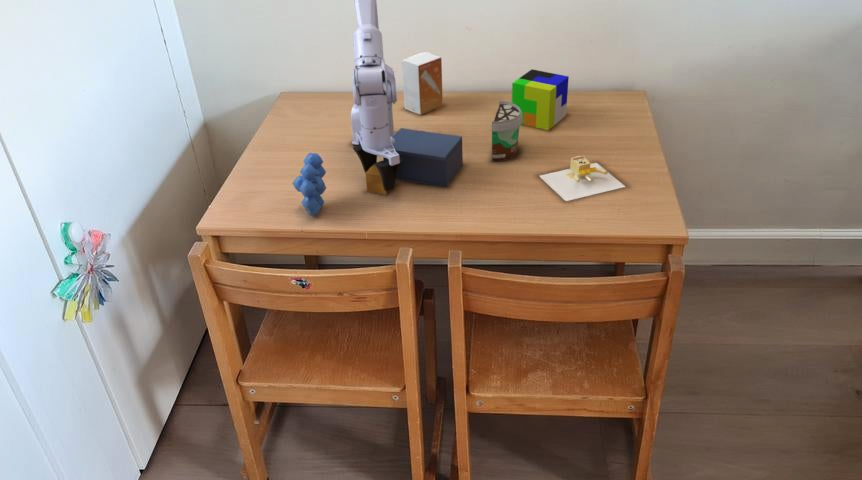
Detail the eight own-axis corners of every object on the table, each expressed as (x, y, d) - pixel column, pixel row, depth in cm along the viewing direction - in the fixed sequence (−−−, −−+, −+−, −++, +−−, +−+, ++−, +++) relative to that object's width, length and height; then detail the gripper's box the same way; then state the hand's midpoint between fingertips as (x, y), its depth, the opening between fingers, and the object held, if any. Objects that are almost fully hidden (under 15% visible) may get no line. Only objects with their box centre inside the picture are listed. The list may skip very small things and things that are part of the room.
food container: (518, 165, 170) (519, 124, 164) (491, 164, 171) (491, 122, 165) (524, 141, 180) (526, 101, 174) (499, 139, 181) (499, 99, 175)
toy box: (447, 187, 163) (446, 160, 160) (384, 177, 168) (382, 151, 164) (462, 165, 171) (462, 140, 167) (403, 156, 175) (401, 131, 172)
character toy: (579, 174, 158) (560, 158, 164) (578, 188, 160) (560, 172, 166) (612, 166, 160) (593, 151, 166) (611, 180, 162) (592, 164, 168)
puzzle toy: (566, 115, 191) (568, 76, 185) (548, 130, 184) (550, 90, 178) (530, 107, 195) (531, 69, 189) (511, 121, 188) (512, 83, 182)
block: (367, 192, 163) (365, 172, 160) (375, 182, 166) (374, 163, 163) (386, 195, 161) (384, 175, 159) (394, 185, 165) (392, 166, 162)
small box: (420, 115, 193) (418, 65, 185) (404, 108, 197) (400, 59, 189) (443, 105, 197) (442, 56, 190) (427, 99, 201) (424, 50, 193)
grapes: (303, 194, 163) (295, 143, 156) (334, 195, 162) (327, 143, 155) (289, 223, 154) (279, 170, 146) (322, 224, 153) (314, 171, 146)
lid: (444, 160, 159) (444, 157, 158) (380, 151, 163) (380, 148, 163) (462, 139, 167) (462, 136, 167) (401, 131, 172) (401, 127, 171)
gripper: (410, 130, 152) (414, 190, 160) (373, 106, 161) (379, 164, 169) (380, 140, 149) (385, 200, 157) (344, 115, 158) (351, 173, 166)
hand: (380, 182), depth 163 cm, fingers open, 7 cm apart
